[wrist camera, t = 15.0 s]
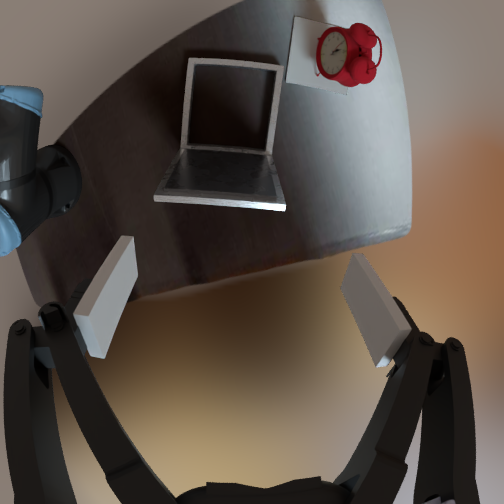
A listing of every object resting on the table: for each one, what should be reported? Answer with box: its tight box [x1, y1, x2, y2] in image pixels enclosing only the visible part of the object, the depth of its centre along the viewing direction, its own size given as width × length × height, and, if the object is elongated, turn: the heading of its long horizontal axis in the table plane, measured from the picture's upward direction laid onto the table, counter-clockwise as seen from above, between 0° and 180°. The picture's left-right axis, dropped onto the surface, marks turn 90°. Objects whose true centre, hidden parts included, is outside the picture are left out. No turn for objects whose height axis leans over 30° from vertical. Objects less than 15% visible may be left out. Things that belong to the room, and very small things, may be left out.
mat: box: [286, 17, 348, 95], centre depth 37 cm, size 11×13×1 cm
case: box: [180, 58, 284, 156], centre depth 40 cm, size 15×16×3 cm
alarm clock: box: [316, 23, 382, 87], centre depth 31 cm, size 10×6×15 cm, turn 179°
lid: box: [154, 149, 286, 211], centre depth 37 cm, size 15×16×1 cm
